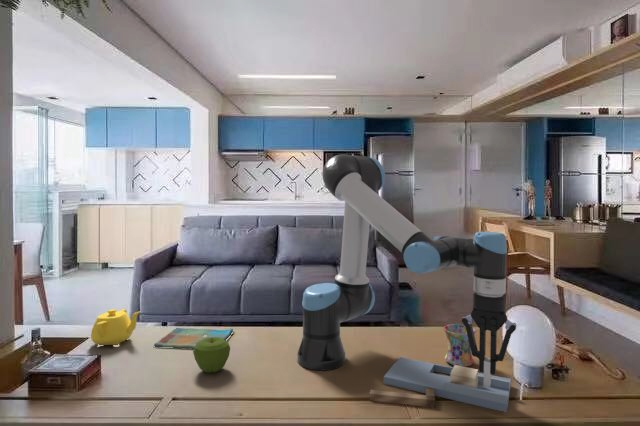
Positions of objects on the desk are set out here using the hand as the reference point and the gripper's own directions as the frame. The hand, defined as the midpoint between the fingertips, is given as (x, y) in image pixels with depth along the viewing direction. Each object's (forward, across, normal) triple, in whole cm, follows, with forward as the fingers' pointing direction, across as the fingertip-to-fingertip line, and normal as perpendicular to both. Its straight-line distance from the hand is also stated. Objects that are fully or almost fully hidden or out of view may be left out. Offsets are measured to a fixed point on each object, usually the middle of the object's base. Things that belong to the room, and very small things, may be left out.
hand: (487, 384), depth 103 cm
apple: (+4, -74, -21) cm, 77 cm away
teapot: (+4, -119, -20) cm, 120 cm away
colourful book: (+5, -97, -5) cm, 97 cm away
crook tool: (+4, -19, -10) cm, 22 cm away
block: (+2, -6, 0) cm, 6 cm away
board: (+4, -10, +3) cm, 12 cm away
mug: (+4, -10, +21) cm, 24 cm away
